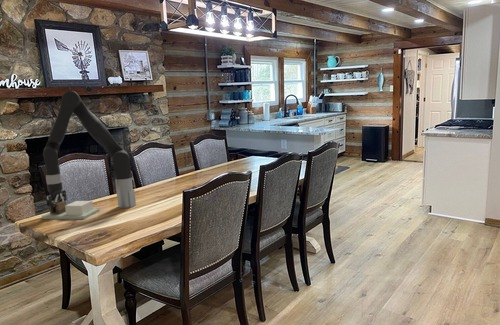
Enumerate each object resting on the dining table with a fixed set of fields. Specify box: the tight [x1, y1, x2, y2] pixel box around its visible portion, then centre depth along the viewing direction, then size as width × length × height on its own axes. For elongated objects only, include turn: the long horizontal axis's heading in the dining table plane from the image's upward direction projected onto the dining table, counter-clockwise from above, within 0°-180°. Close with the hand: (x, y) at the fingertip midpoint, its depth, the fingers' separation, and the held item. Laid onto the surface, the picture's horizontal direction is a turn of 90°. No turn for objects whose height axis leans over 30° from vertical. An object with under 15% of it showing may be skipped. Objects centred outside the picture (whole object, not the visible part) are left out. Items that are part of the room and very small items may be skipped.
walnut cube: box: [48, 200, 67, 215], centre depth 213 cm, size 6×6×6 cm
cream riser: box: [65, 200, 94, 215], centre depth 213 cm, size 10×10×5 cm
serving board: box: [41, 208, 100, 220], centre depth 214 cm, size 26×14×2 cm, turn 80°
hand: (58, 211), depth 214 cm, fingers open, 6 cm apart
